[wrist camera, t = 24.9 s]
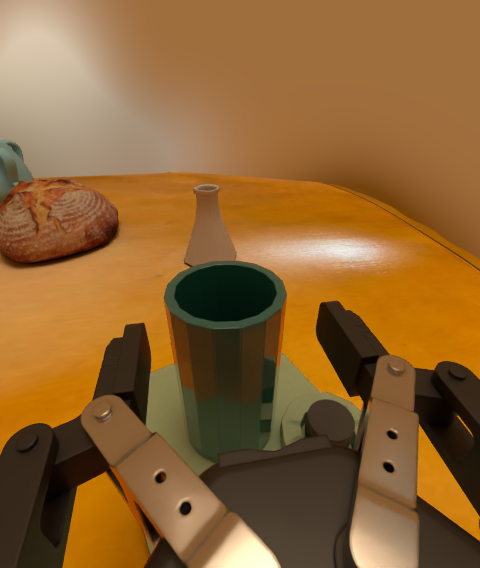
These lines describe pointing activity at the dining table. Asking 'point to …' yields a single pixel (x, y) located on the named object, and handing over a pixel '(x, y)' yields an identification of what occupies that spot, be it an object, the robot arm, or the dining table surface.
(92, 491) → the dining table surface
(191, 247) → the flask
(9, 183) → the decorative pot
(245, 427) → the cup
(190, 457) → the scale
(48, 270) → the dining table surface
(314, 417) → the tare button
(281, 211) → the dining table surface
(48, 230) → the bread
